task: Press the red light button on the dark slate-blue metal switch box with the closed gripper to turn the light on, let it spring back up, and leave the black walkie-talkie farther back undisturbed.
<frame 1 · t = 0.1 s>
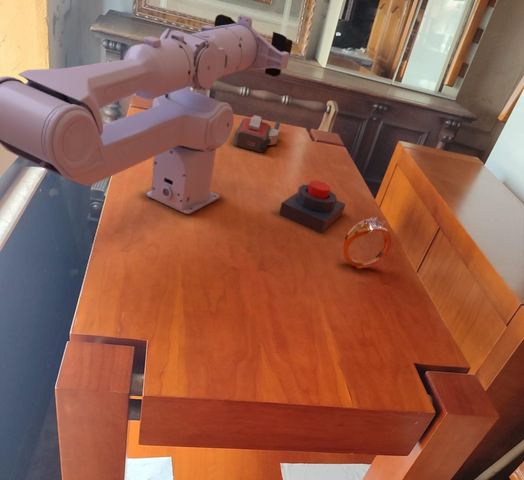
hand: (268, 40, 79), 22 cm above the table, tool horizontal, fingers open, 7 cm apart
light button: (318, 190, 81), point 4 cm above the table, slide at 0.1 cm
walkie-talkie: (257, 139, 109), on the table
ring: (357, 268, 74), on the table
switch box: (311, 214, 84), on the table
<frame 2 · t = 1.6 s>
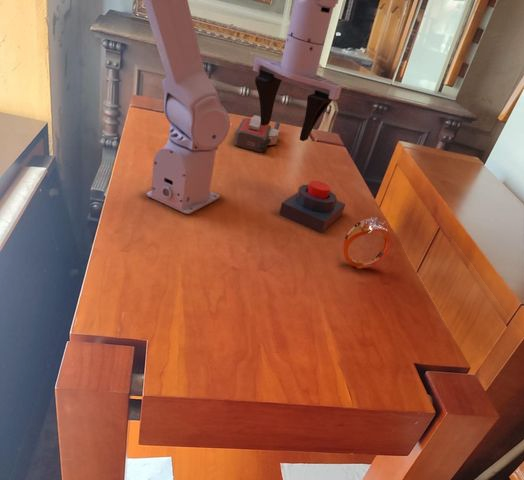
hand: (284, 131, 82), 10 cm above the table, tool pointing down, fingers open, 7 cm apart
nothing on the table moved.
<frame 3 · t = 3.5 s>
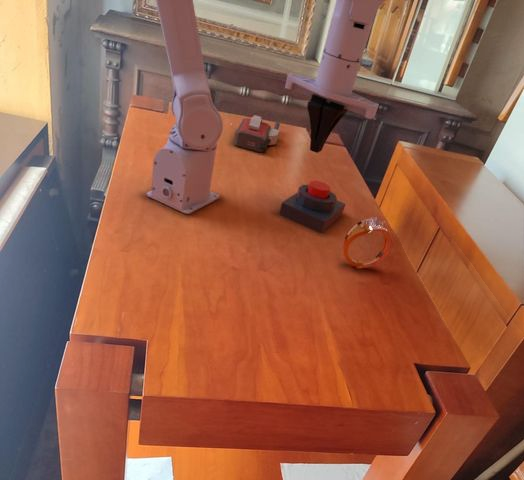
hand: (315, 150, 79), 10 cm above the table, tool pointing down, fingers closed
nothing on the table moved.
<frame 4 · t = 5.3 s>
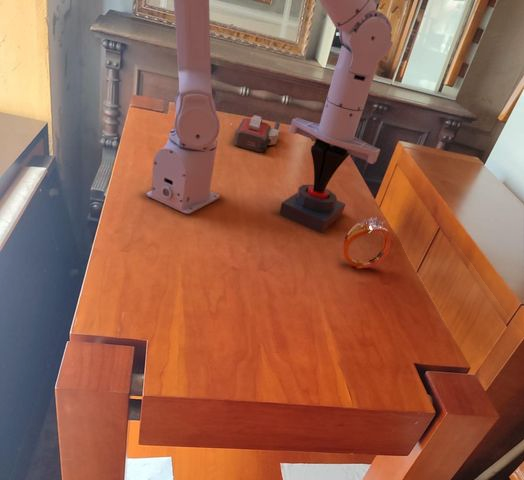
hand: (318, 190, 81), 4 cm above the table, tool pointing down, fingers closed, pressing on light button
light button: (317, 195, 82), point 4 cm above the table, slide at -0.7 cm, touching gripper
everything else where it was.
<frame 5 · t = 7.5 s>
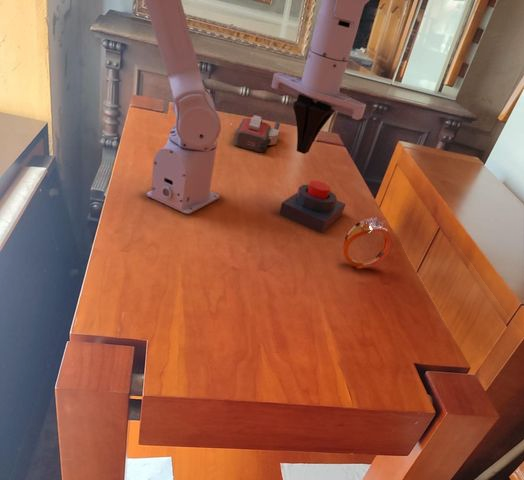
hand: (302, 151, 77), 10 cm above the table, tool pointing down, fingers closed
light button: (318, 190, 81), point 4 cm above the table, slide at 0.1 cm
everything else where it was.
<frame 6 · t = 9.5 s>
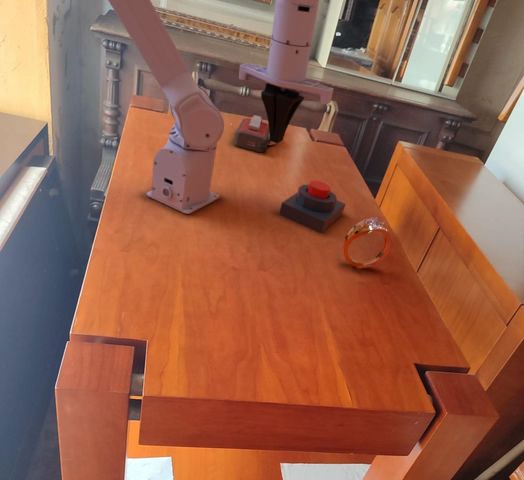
hand: (276, 140, 77), 10 cm above the table, tool pointing down, fingers closed
nothing on the table moved.
at the end: light button pushed in 1.2 cm at the most during the clip, back to where it started at the end; light button slide at 0.1 cm; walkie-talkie moved 0.2 cm from its start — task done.
